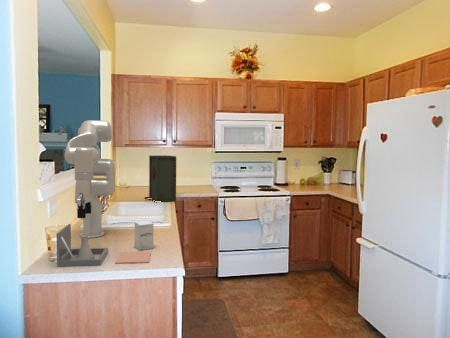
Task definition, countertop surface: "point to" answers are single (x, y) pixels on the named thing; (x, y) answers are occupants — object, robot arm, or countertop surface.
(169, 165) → the dark green tall block
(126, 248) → the countertop surface
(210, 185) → the countertop surface
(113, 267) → the countertop surface
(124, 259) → the plate
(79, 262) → the case
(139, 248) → the supplement box
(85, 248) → the flask
